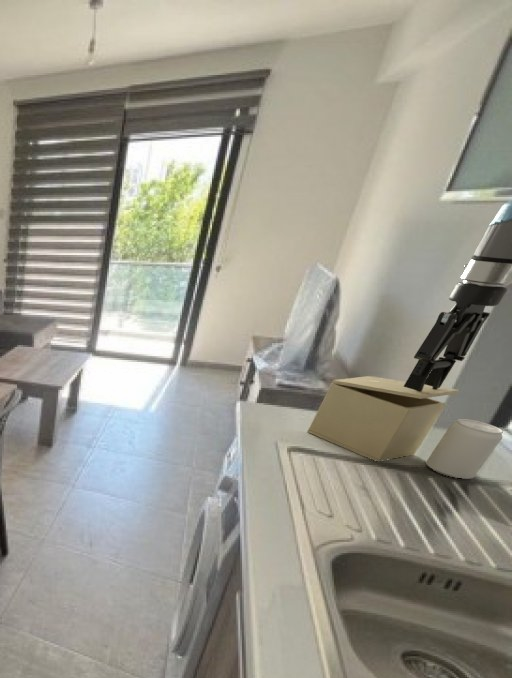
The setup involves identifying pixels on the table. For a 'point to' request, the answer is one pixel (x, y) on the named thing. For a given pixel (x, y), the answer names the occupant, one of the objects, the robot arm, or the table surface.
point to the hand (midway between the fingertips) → (421, 387)
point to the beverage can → (464, 448)
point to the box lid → (402, 384)
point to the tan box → (374, 421)
